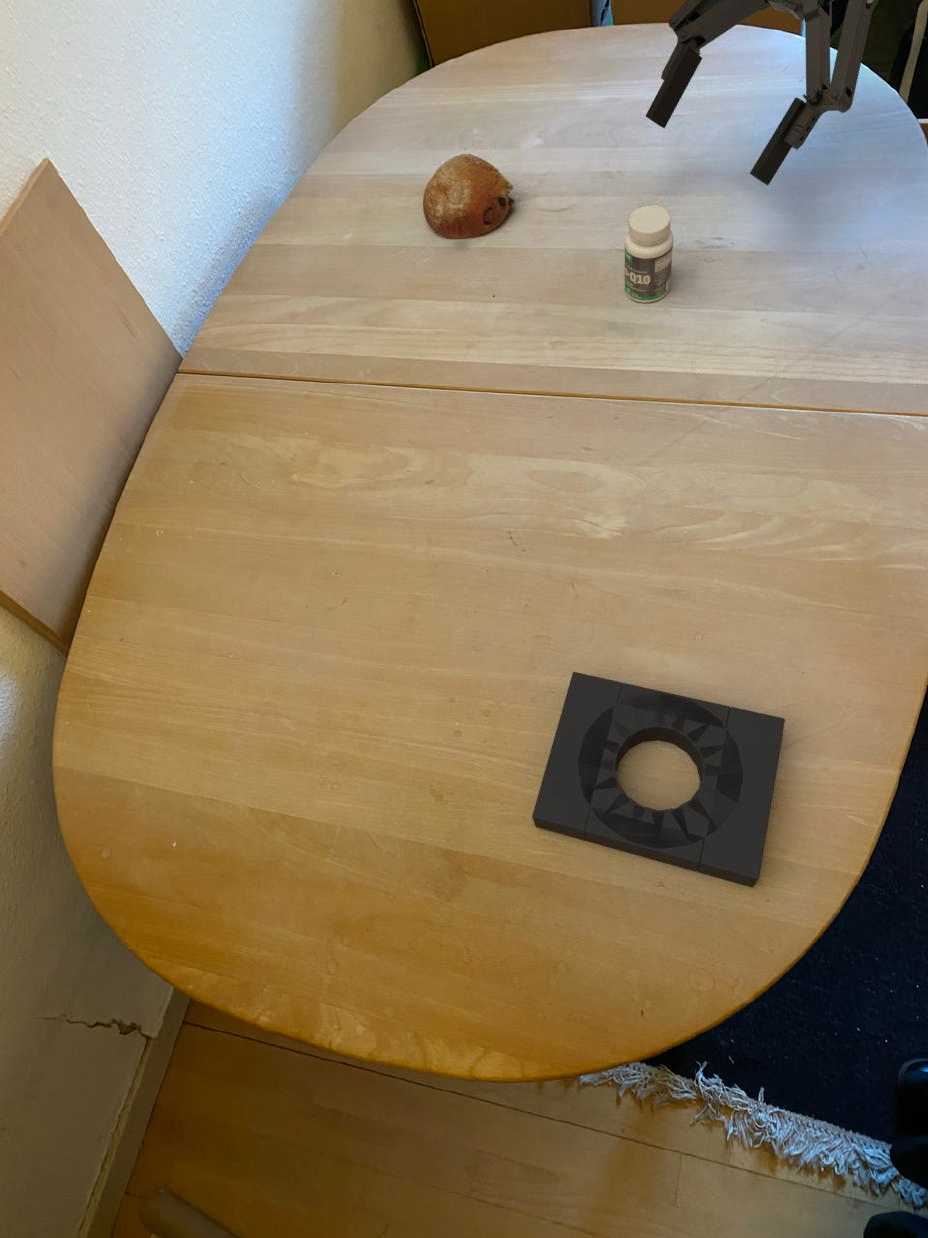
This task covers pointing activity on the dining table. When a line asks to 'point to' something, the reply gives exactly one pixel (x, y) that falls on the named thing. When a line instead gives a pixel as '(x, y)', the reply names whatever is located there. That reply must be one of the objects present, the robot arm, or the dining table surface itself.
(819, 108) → the robot arm
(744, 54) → the dining table surface
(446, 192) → the bread roll
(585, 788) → the black rectangular holder
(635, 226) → the pill bottle
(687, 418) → the dining table surface
